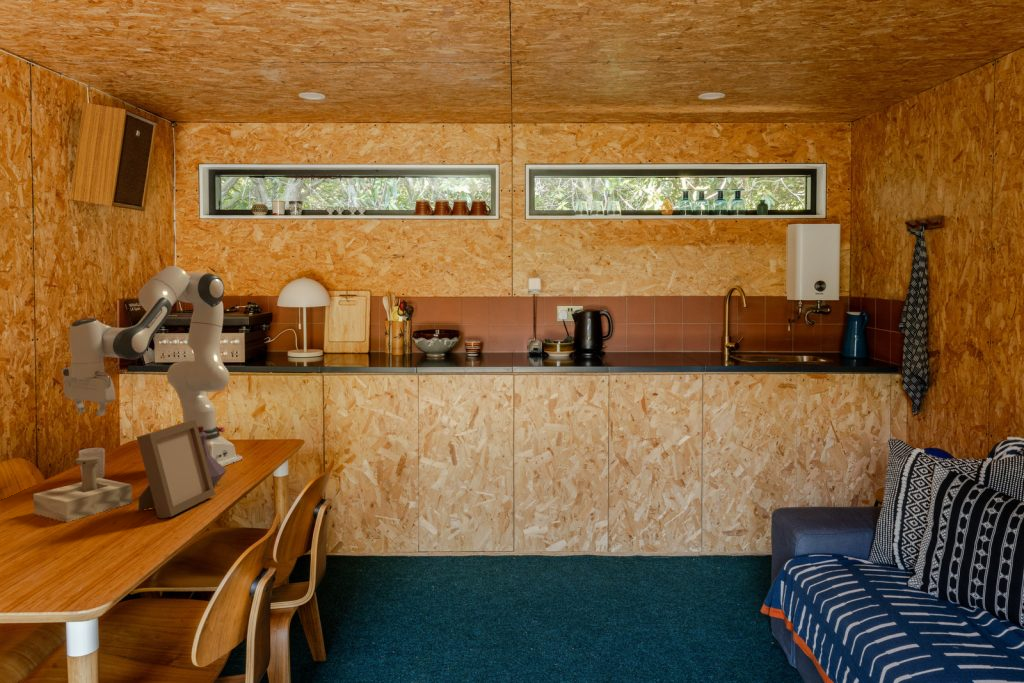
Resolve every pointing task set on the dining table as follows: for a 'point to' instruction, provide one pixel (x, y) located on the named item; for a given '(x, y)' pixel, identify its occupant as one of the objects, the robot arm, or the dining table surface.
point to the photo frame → (174, 469)
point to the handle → (88, 472)
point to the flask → (211, 460)
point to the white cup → (98, 453)
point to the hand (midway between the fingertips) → (91, 414)
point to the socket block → (81, 500)
